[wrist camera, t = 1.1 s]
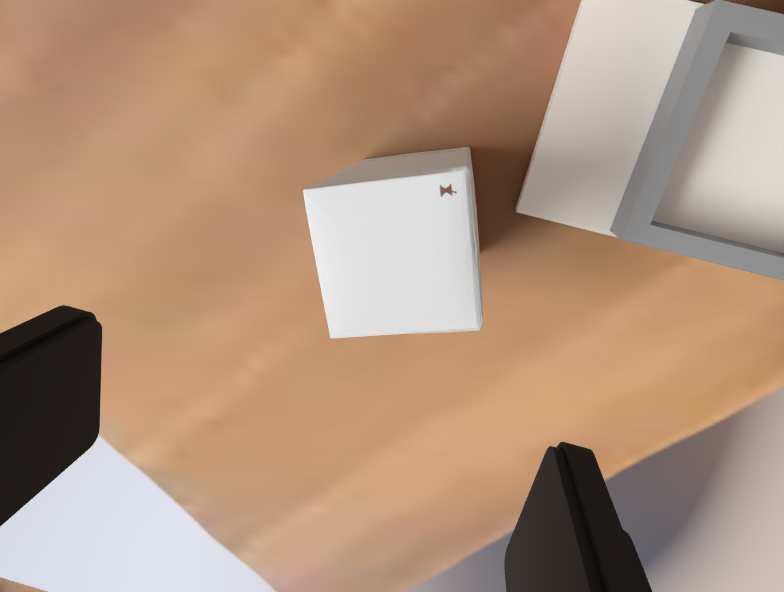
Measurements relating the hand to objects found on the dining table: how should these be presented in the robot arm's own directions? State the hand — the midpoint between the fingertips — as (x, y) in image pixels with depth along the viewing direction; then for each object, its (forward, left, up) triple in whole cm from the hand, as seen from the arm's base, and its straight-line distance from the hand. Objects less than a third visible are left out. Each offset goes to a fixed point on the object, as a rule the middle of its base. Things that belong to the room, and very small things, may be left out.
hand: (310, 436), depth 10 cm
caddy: (-8, +16, -25) cm, 31 cm away
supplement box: (0, 0, -26) cm, 26 cm away
